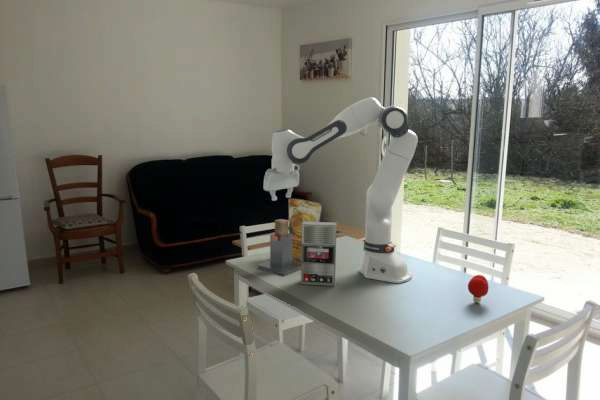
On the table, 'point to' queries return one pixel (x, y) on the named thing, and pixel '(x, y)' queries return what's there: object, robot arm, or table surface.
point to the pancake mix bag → (301, 221)
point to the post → (281, 227)
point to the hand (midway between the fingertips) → (281, 199)
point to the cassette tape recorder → (318, 253)
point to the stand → (280, 256)
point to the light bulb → (478, 287)
